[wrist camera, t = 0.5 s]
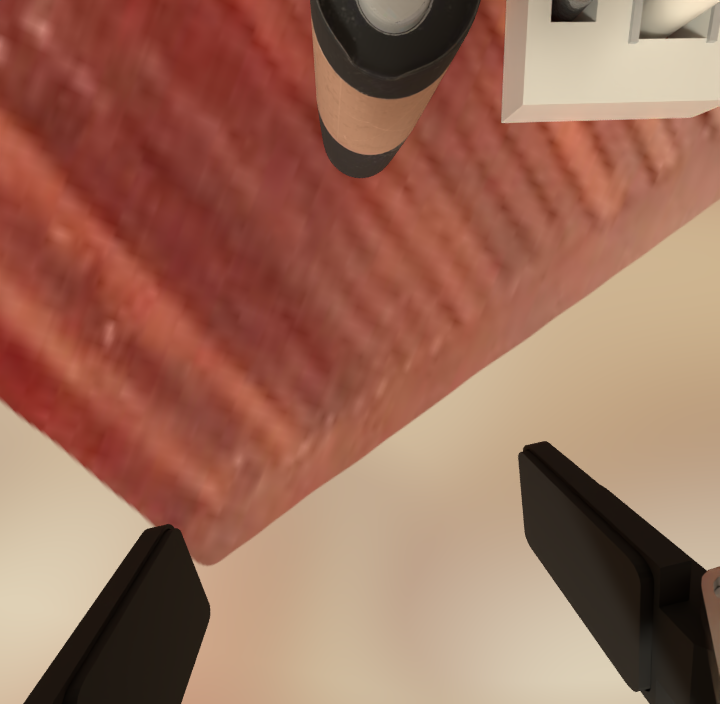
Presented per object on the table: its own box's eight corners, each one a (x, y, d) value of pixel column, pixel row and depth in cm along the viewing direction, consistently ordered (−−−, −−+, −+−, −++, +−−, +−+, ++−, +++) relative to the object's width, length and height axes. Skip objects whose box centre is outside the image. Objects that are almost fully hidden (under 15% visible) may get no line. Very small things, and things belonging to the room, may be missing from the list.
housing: (509, -85, 30) (538, -140, 26) (723, -82, 32) (782, -134, 28) (501, 122, 34) (524, 103, 30) (691, 117, 36) (738, 98, 32)
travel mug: (375, 76, 33) (439, -199, 13) (412, 156, 35) (517, 17, 15) (304, 120, 33) (267, -86, 14) (345, 196, 35) (364, 111, 16)
